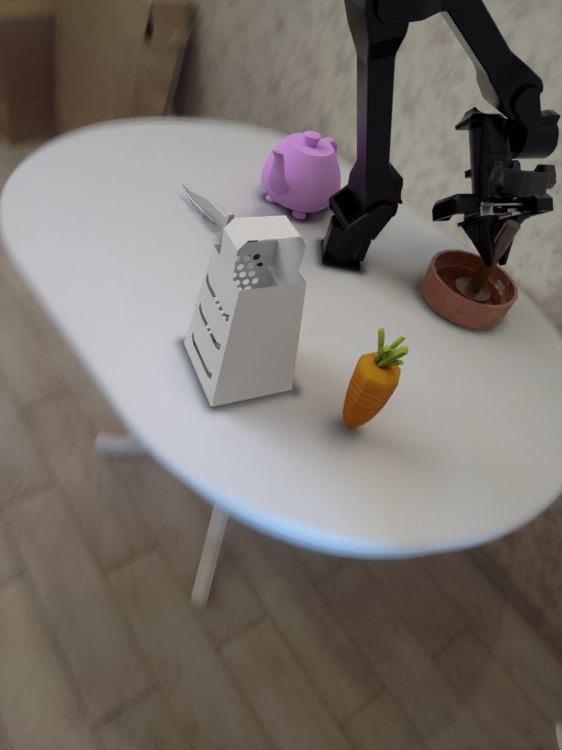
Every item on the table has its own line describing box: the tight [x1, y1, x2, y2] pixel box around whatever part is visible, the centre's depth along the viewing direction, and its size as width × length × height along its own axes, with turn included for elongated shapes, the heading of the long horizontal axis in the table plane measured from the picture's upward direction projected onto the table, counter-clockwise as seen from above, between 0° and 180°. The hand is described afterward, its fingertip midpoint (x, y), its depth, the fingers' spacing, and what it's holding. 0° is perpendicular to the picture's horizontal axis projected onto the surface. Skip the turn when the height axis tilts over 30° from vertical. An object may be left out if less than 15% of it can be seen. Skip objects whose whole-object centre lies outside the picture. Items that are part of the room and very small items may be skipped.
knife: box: [181, 180, 263, 268], centre depth 80 cm, size 25×2×5 cm, turn 37°
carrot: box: [342, 327, 409, 430], centre depth 56 cm, size 5×5×15 cm
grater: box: [183, 214, 307, 408], centre depth 57 cm, size 10×10×20 cm
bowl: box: [419, 248, 519, 330], centre depth 82 cm, size 14×14×5 cm
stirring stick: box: [453, 220, 521, 304], centre depth 78 cm, size 6×6×13 cm
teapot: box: [260, 130, 342, 220], centre depth 88 cm, size 20×14×12 cm
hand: (496, 265), depth 78 cm, fingers closed on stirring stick, 2 cm apart
